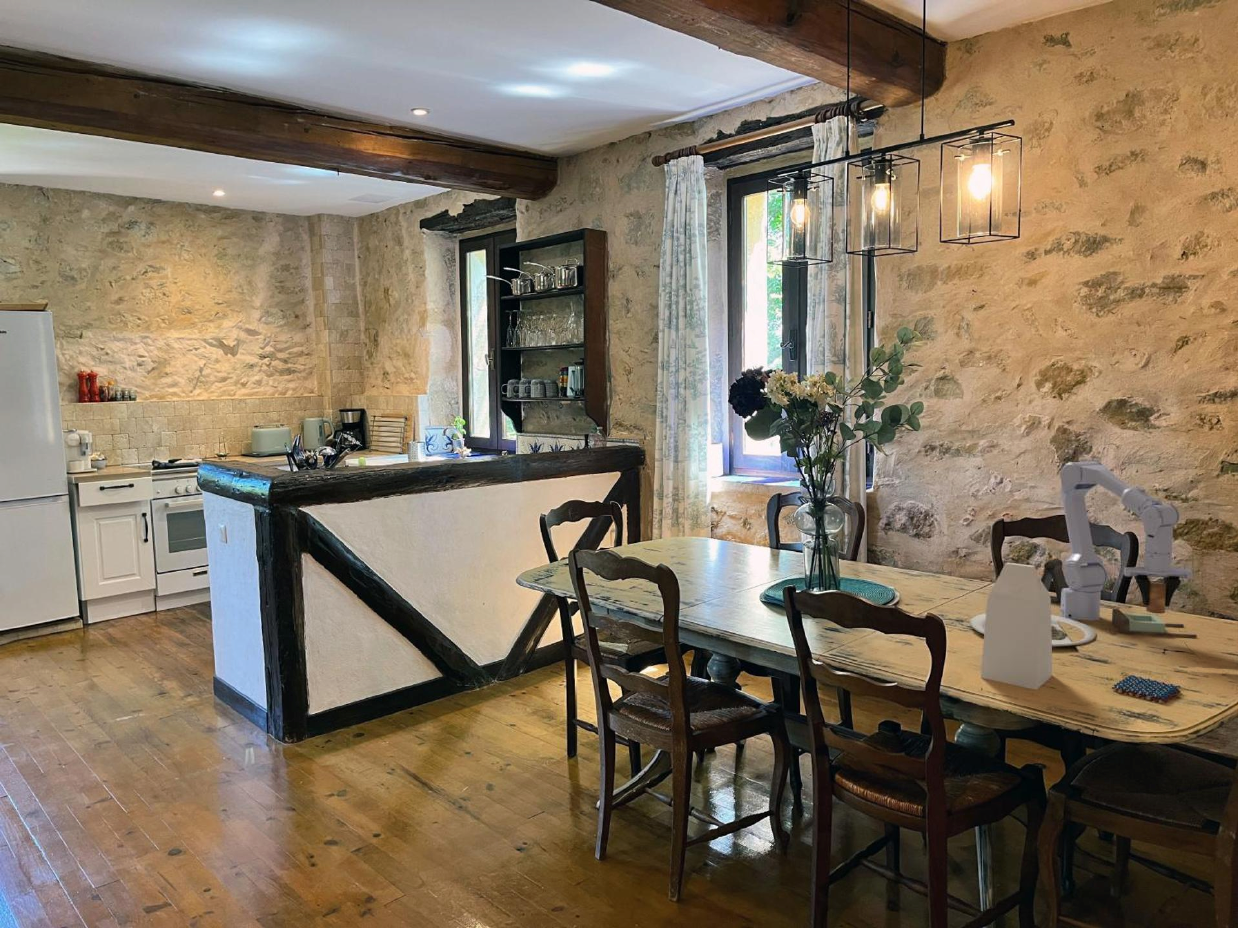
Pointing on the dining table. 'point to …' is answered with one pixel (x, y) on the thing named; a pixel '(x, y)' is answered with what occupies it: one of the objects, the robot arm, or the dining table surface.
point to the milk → (1018, 629)
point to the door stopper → (1054, 578)
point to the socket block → (1145, 623)
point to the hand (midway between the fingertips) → (1155, 605)
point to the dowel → (1157, 598)
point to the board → (1123, 626)
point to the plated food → (1056, 630)
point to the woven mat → (1146, 688)
